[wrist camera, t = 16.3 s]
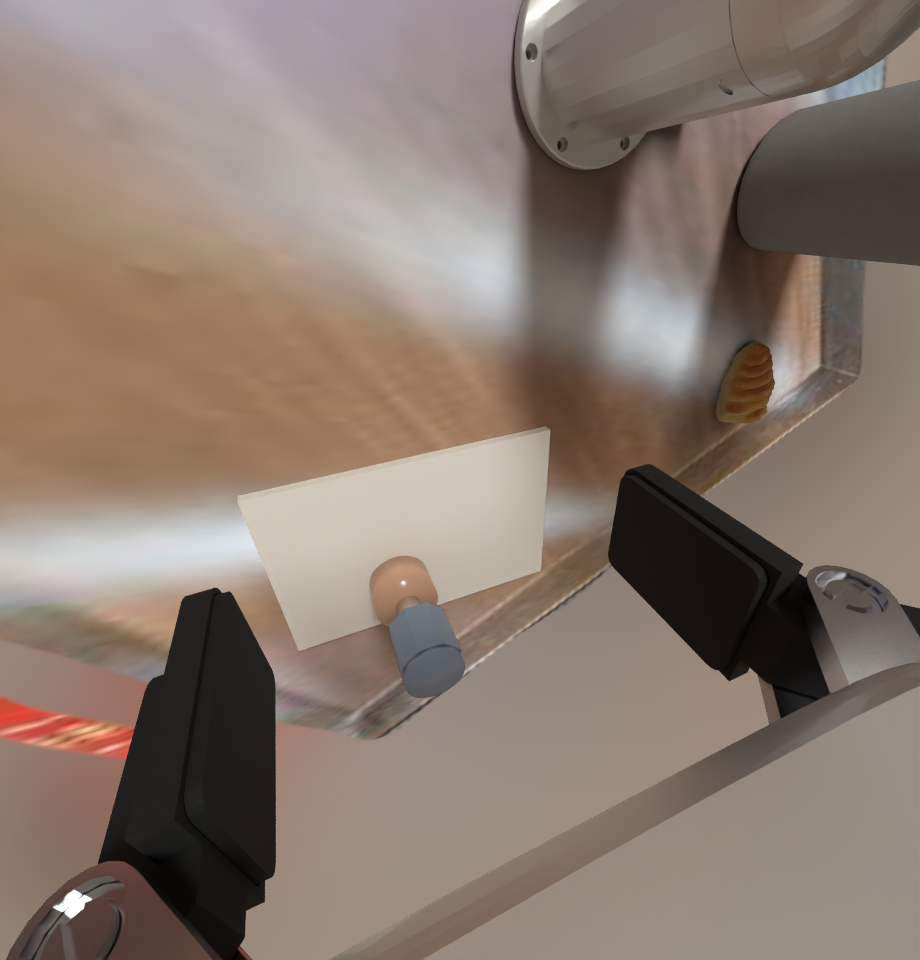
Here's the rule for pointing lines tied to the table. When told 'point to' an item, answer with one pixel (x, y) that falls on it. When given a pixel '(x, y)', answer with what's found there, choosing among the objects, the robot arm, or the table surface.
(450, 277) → the table surface
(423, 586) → the round stamp handle
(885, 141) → the canister
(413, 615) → the cap
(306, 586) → the board
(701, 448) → the table surface
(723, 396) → the pastry
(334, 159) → the table surface
